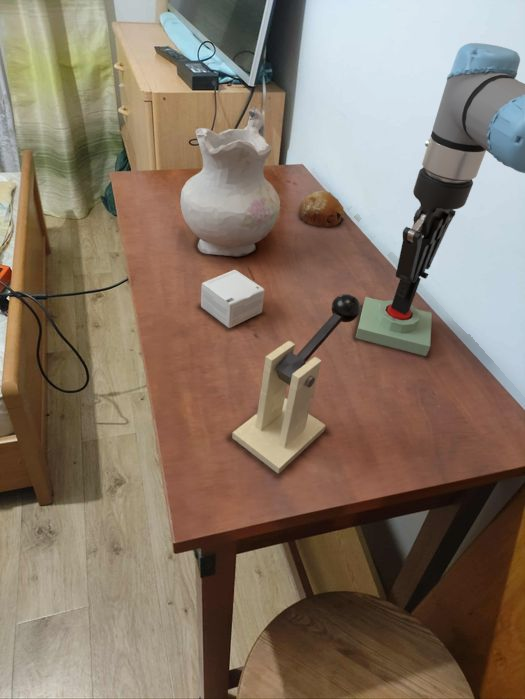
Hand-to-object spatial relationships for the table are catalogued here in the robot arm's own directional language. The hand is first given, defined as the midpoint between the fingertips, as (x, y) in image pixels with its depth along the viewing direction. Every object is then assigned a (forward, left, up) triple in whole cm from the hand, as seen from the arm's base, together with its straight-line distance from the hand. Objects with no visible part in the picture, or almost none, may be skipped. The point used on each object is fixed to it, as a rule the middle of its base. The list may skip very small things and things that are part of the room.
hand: (399, 308), depth 86 cm
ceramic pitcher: (+36, -17, -5) cm, 40 cm away
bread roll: (+20, -37, -5) cm, 42 cm away
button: (0, 0, -2) cm, 2 cm away
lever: (+10, +25, +8) cm, 28 cm away
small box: (+28, +6, -5) cm, 29 cm away
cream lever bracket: (+13, +30, -5) cm, 33 cm away
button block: (0, 0, -5) cm, 5 cm away
